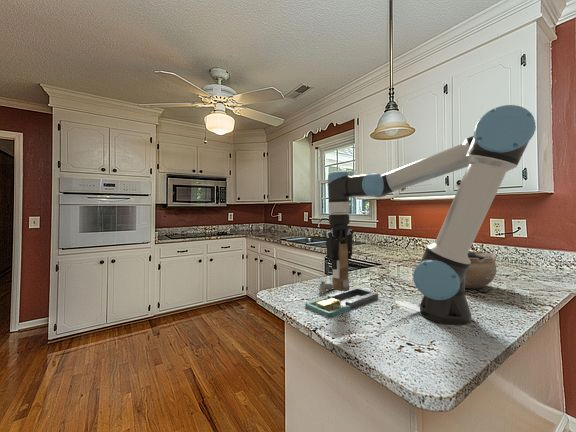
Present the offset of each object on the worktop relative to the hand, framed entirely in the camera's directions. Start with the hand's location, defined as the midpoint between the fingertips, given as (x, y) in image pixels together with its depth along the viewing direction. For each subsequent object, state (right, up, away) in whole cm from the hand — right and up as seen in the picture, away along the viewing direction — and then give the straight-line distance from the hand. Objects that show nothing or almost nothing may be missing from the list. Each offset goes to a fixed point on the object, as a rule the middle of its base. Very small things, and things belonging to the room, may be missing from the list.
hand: (340, 276), depth 100 cm
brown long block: (0, -5, 0) cm, 5 cm away
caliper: (+2, -11, +20) cm, 23 cm away
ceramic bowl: (+63, -10, +25) cm, 69 cm away
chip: (-3, -11, -2) cm, 12 cm away
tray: (-5, -12, -3) cm, 13 cm away
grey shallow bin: (+6, -11, +5) cm, 14 cm away
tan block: (-7, -11, -4) cm, 14 cm away
